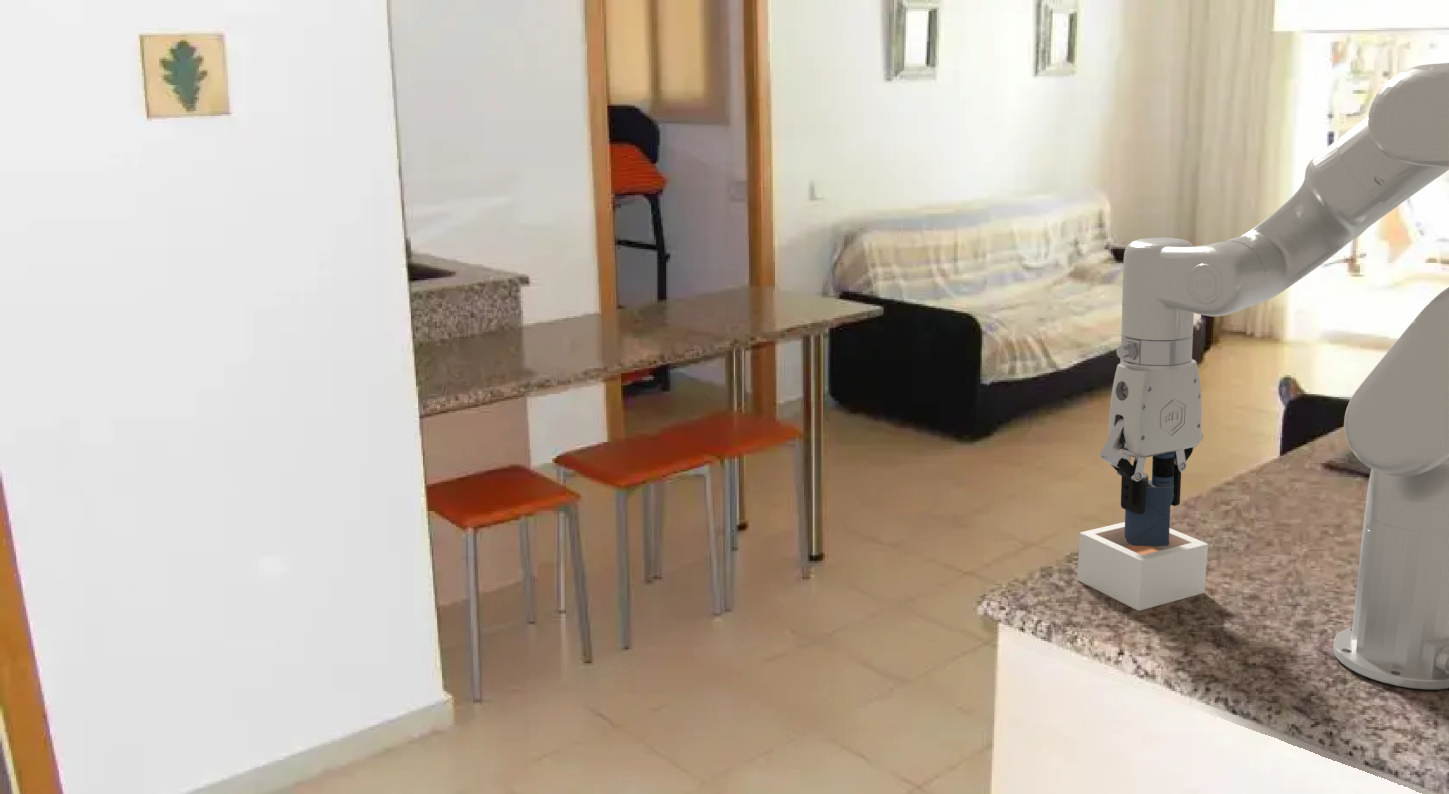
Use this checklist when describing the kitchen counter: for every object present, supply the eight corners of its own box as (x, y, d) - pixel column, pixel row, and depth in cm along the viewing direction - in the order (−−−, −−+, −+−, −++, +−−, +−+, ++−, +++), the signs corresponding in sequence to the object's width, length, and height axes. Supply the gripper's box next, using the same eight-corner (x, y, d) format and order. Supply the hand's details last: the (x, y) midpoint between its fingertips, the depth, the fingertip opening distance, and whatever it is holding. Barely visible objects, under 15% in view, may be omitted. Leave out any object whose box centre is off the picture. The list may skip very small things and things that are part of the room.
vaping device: (1173, 547, 144) (1177, 446, 141) (1125, 546, 145) (1128, 446, 142) (1170, 539, 146) (1174, 439, 143) (1123, 538, 147) (1125, 439, 144)
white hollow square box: (1204, 592, 145) (1208, 544, 143) (1138, 611, 141) (1141, 560, 139) (1141, 563, 154) (1144, 517, 152) (1077, 580, 149) (1079, 532, 148)
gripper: (1122, 366, 133) (1116, 530, 137) (1238, 346, 140) (1230, 502, 144) (1073, 355, 140) (1070, 511, 144) (1187, 336, 147) (1180, 485, 151)
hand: (1150, 505), depth 144 cm, fingers closed on vaping device, 4 cm apart
